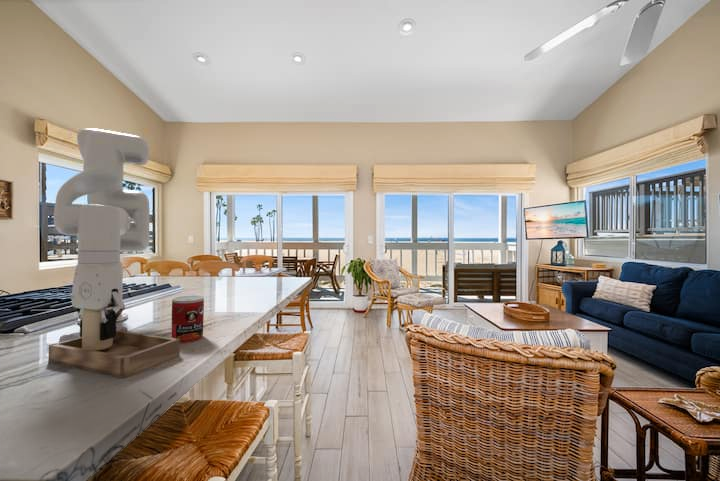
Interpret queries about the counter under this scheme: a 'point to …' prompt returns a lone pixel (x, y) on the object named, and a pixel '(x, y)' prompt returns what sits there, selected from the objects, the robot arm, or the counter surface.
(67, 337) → the stone block
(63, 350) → the tray
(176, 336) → the canned food
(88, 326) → the candle
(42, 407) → the counter surface
